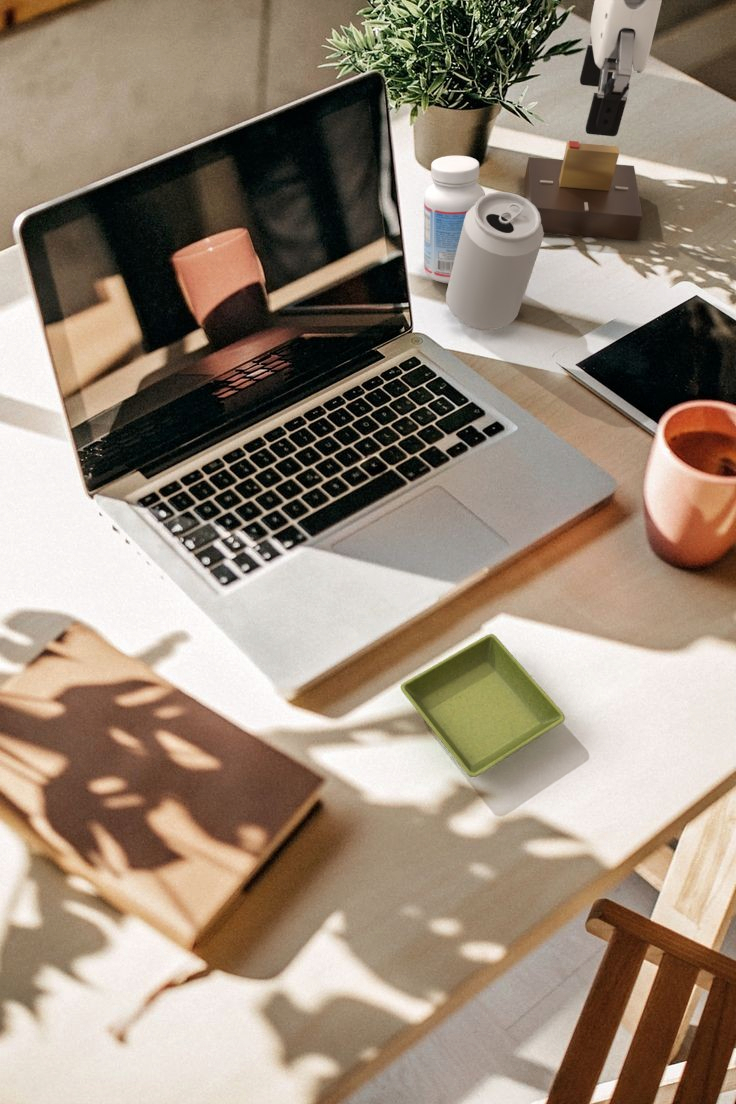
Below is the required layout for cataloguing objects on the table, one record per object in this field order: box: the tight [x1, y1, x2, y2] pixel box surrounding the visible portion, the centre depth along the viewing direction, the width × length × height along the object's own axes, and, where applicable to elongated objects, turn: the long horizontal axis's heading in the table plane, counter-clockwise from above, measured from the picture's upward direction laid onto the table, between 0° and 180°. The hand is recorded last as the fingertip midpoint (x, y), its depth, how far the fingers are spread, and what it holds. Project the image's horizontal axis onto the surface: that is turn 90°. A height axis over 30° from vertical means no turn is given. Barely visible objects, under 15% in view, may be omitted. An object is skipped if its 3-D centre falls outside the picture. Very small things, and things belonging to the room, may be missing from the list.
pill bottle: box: [423, 155, 486, 284], centre depth 103 cm, size 6×6×11 cm
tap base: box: [523, 156, 643, 241], centre depth 115 cm, size 12×10×3 cm
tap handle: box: [559, 140, 620, 191], centre depth 112 cm, size 6×1×5 cm, turn 86°
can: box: [445, 191, 545, 331], centre depth 99 cm, size 8×8×12 cm
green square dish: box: [400, 633, 566, 778], centre depth 74 cm, size 9×9×2 cm
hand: (597, 108), depth 107 cm, fingers open, 9 cm apart
